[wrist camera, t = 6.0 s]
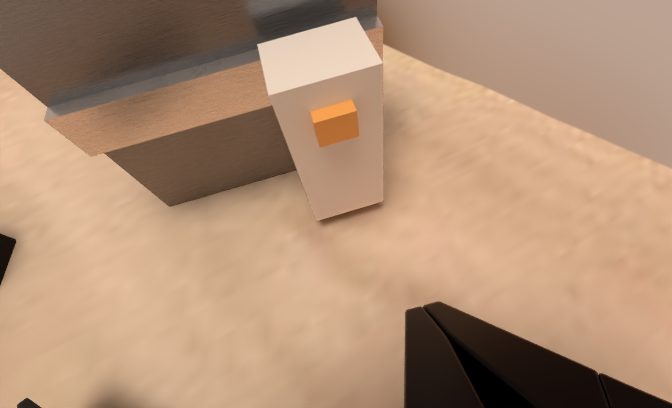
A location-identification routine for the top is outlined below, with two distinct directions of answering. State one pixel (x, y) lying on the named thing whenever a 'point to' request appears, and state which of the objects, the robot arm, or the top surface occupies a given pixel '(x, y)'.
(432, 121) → the top surface
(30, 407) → the handheld gaming console
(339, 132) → the block
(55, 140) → the top surface
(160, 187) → the rail board
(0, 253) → the digital camera
